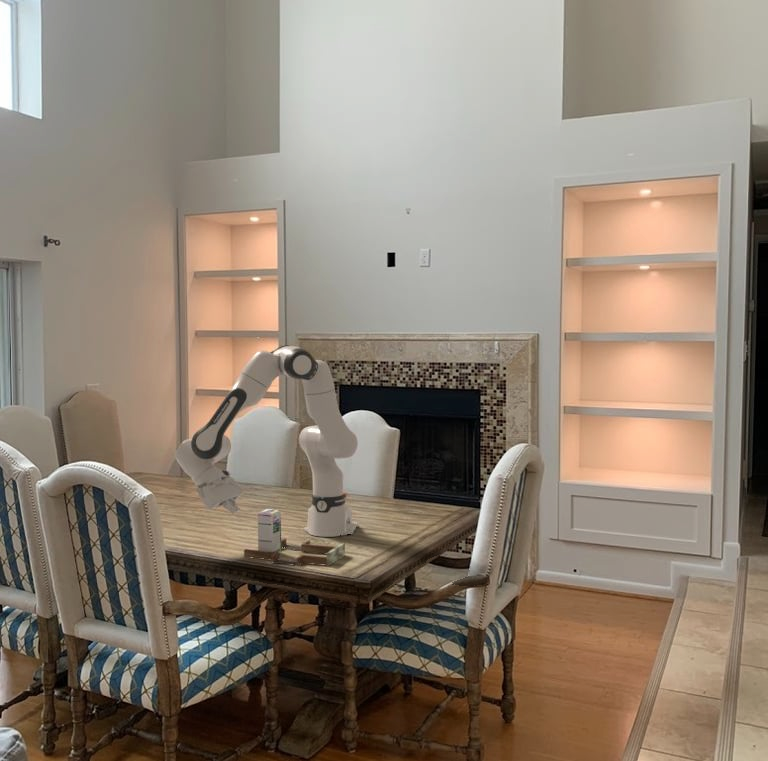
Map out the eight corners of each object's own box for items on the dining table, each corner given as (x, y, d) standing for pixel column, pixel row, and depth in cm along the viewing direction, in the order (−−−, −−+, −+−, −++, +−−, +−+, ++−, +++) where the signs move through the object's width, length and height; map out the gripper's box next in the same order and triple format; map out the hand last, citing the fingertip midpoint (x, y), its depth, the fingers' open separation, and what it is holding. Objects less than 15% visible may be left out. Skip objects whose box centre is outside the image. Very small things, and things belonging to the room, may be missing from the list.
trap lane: (268, 543, 281) (267, 532, 280) (349, 551, 271) (349, 539, 271) (239, 559, 261) (239, 547, 261) (326, 568, 252) (326, 556, 252)
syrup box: (273, 557, 265) (272, 513, 264) (257, 555, 267) (257, 511, 266) (281, 552, 270) (281, 509, 269) (266, 550, 272) (265, 508, 271)
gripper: (200, 480, 263) (226, 512, 260) (230, 470, 282) (256, 499, 280) (188, 492, 265) (214, 524, 262) (219, 481, 284) (244, 511, 282)
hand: (236, 511), depth 271 cm, fingers closed
